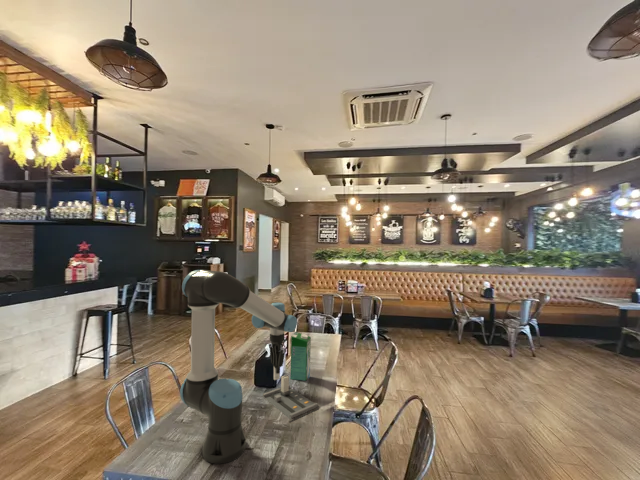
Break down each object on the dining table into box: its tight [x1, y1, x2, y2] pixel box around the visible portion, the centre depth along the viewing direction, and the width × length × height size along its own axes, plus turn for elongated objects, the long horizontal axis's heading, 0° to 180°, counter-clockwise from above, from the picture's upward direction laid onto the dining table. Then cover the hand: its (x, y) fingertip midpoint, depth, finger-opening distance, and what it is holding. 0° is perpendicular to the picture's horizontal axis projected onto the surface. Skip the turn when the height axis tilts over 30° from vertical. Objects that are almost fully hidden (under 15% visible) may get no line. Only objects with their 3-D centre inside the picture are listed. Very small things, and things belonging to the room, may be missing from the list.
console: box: [261, 384, 320, 423], centre depth 139 cm, size 16×24×4 cm, turn 41°
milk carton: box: [289, 331, 312, 382], centre depth 166 cm, size 9×9×25 cm
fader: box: [279, 374, 291, 396], centre depth 146 cm, size 4×5×8 cm
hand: (276, 378), depth 152 cm, fingers closed
